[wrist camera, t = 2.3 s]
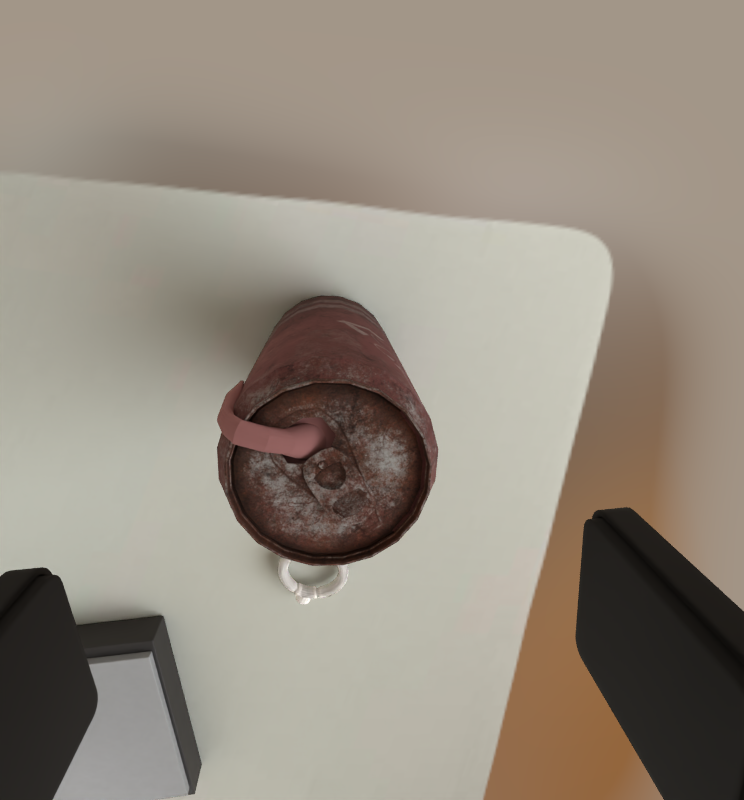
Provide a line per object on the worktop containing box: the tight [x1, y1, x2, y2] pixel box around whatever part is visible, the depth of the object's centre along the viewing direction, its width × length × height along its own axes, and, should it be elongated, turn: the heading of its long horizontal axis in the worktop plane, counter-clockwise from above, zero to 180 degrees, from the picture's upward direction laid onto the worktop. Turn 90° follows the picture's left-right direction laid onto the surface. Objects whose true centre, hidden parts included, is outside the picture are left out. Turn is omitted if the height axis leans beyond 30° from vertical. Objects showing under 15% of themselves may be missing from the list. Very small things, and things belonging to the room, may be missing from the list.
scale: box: [53, 616, 202, 800], centre depth 31 cm, size 15×13×2 cm
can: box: [217, 296, 438, 566], centre depth 20 cm, size 6×6×14 cm
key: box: [278, 557, 349, 604], centre depth 29 cm, size 12×1×4 cm
